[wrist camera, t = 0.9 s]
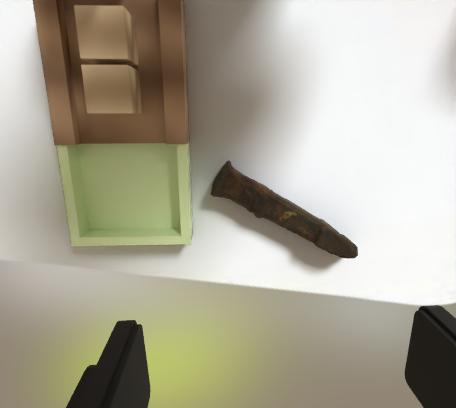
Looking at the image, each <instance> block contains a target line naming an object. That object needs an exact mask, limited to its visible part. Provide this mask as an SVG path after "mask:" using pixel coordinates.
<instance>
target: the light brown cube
mask: <svg viewBox="0 0 456 408" xmlns="http://www.w3.org/2000/svg"><path fill="white" fill-rule="evenodd" d="M74 10H75V18H76V26H77V35H78V43H79V51H80V58H81V59H83V60H85V61H88V62H90V63H92V64H95V65H129V66H139V62H138V49H137V36H136V22H135V19H134V18H133V17H132V16H131V14H130V13H129V12H128V11H127V10H126V8H125V7H124V6H102V5H74Z"/></svg>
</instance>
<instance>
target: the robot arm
mask: <svg viewBox="0 0 456 408" xmlns="http://www.w3.org/2000/svg"><path fill="white" fill-rule="evenodd" d="M405 379H406V382H407V384H408V385H409V387H410V388H411V390H412V391H413V393H414V394H415V396H416V397H417V398H418V400H419V401H420V403H421V404H422V406H423V407H424V408H456V318H454V317H453V316H452V315H451V314H450V313H449V312H448V311H446V310H445V309H444V308H443V307H441V306H439V305H435V306H421V307H420V308H419V310H418V311H416V312H415V314H414V320H413V326H412V332H411V338H410V344H409V350H408V356H407V362H406V368H405ZM149 398H150V382H149V375H148V367H147V360H146V351H145V344H144V336H143V329H142V325H141V324H138V325H137V323H136V321H135V320H127V321H118V322H117V323H116V325H115V327H114V329H113V331H112V333H111V336H110V338H109V340H108V342H107V344H106V346H105V348H104V350H103V352H102V355H101V357H100V359H99V361H98V363H97V365H90V366H89V367H87V368H86V370H85V371H84V373H83V375H82V377H81V379H80V381H79V383H78V385H77V387H76V389H75V391H74V393H73V395H72V397H71V399H70V401H69V403H68V405H67V407H66V408H147V407H148V403H149Z"/></svg>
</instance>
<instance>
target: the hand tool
mask: <svg viewBox="0 0 456 408" xmlns="http://www.w3.org/2000/svg"><path fill="white" fill-rule="evenodd" d="M212 185H213V186H212V191H211V195H212V196H217V197H224V198H228V199H230V200H232V201H234V202H236V203H237V204H240V205H241V206H243V207H245V208H246V209H247V210H248V211H250V212H253V213H254V215H255V216H256V217H258V218H266V219H268V220H270V221H272V222H274V223H276V224H278V225H280V226H281V227H284V228H286V229H288V230H290V231H292V232H294V233H296V234H298V235H300V236H301V237H303V238H305V239H307V240H309V241H311V242H313V243H314V244H315V245H316V246H317V247H319V248H321V249H323V250H326V251H327V252H329V253H331V254H335V255H337V256H339V257H342V258H356V256H357V255H358V250H357V246H356V245H355V244H354V243H352V242H351V241H350V240H349V239H348V238H346V237H345V236H344V235H342V234H340V233H339V232H338V231H336V230H335V229H334V228H332V227H331V226H330V225H329V224H328V223H326V222H325V221H324V220H322V219H319V218H317V217H315V216H313V215H312V214H310V213H309V212H307V211H305V210H304V209H302V208H300V207H299V206H297V205H295V204H294V203H292V202H290V201H289V200H287V199H285V198H283V197H281V196H279V195H278V194H276V193H274V192H273V191H272V190H270V189H269V188H267V187H266V186H264V185H262V184H261V183H258V182H256V181H255V180H253V179H250V178H248V177H247V176H245V175H243V174H241V173H240V172H238V171H237V170H235V169H234V168H233V167H232V166H231V162H230V161H227V162H226V164H225V165H224V166H223V167H222V169H221V170H220V172H219V173H218V175H217V177H216V178H215V180H214V182H213V184H212Z"/></svg>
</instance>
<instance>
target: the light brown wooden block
mask: <svg viewBox="0 0 456 408" xmlns="http://www.w3.org/2000/svg"><path fill="white" fill-rule="evenodd" d="M81 67H82V76H83V84H84V92H85V100H86V109H87V113H98V114H141V113H142V102H141V89H140V75H139V71H138V70H136V69H134V68H133V67H131V66H129V65H81Z"/></svg>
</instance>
